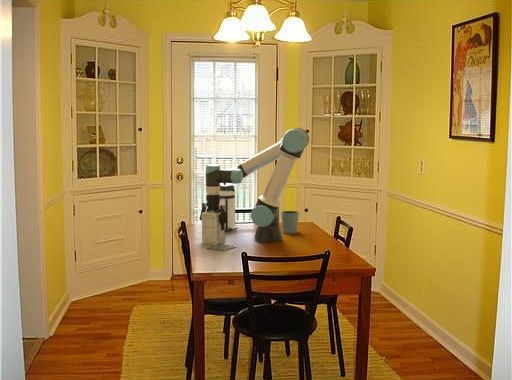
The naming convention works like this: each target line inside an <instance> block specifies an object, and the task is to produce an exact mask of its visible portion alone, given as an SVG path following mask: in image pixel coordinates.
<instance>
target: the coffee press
mask: <svg viewBox="0 0 512 380" xmlns="http://www.w3.org/2000/svg"><path fill="white" fill-rule="evenodd" d="M219 194H220V205H225V213H226V217H227V221H228V222H227V223H225V232H229V229H232V228H234V229H235V230H237V229H238V226H237V224H236V187H235V186H234V184H233V183H220V193H219ZM219 209H220V208H219ZM217 211H218V210H217ZM235 226H236V227H235Z"/></svg>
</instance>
